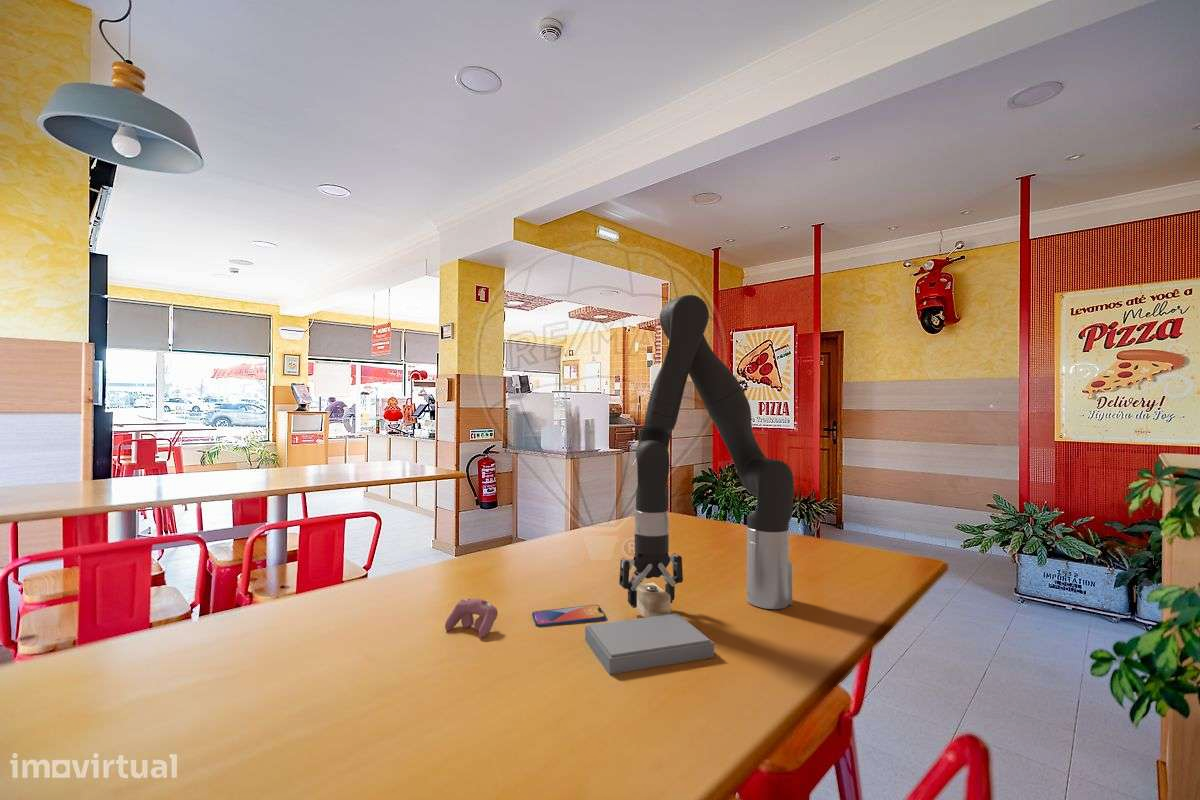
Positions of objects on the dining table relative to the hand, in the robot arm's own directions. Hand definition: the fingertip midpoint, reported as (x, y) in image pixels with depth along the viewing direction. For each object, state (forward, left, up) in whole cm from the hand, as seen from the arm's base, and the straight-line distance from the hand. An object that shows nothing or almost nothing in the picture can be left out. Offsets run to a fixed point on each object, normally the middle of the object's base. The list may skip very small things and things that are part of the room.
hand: (651, 604), depth 117 cm
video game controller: (+38, -2, -2) cm, 38 cm away
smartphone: (+18, -3, -2) cm, 18 cm away
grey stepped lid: (+8, +16, -2) cm, 18 cm away
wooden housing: (0, 0, -2) cm, 2 cm away
